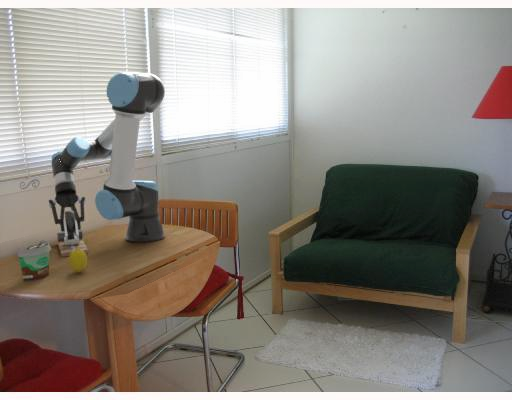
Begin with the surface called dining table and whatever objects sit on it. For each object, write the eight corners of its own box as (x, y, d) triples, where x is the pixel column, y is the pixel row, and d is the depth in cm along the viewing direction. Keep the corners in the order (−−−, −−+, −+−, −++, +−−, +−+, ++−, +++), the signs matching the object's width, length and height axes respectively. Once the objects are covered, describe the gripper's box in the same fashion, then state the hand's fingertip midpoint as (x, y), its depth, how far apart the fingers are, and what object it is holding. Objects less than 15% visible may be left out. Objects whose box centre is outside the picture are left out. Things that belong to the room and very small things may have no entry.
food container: (38, 283, 164) (35, 251, 162) (20, 282, 165) (17, 250, 163) (60, 270, 176) (58, 240, 174) (43, 270, 177) (41, 240, 175)
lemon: (70, 276, 170) (68, 251, 168) (69, 271, 175) (67, 247, 173) (89, 273, 172) (87, 249, 170) (87, 269, 177) (85, 245, 175)
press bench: (88, 253, 195) (87, 241, 194) (61, 256, 192) (60, 244, 191) (82, 241, 213) (81, 230, 212) (58, 244, 210) (57, 232, 209)
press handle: (79, 243, 201) (77, 212, 199) (65, 245, 199) (62, 213, 197) (78, 240, 206) (75, 210, 204) (64, 242, 204) (61, 211, 202)
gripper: (86, 190, 217) (94, 240, 204) (43, 194, 210) (48, 245, 198) (87, 179, 211) (95, 229, 199) (42, 182, 205) (48, 234, 192)
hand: (72, 237), depth 198 cm, fingers closed on press handle, 3 cm apart
